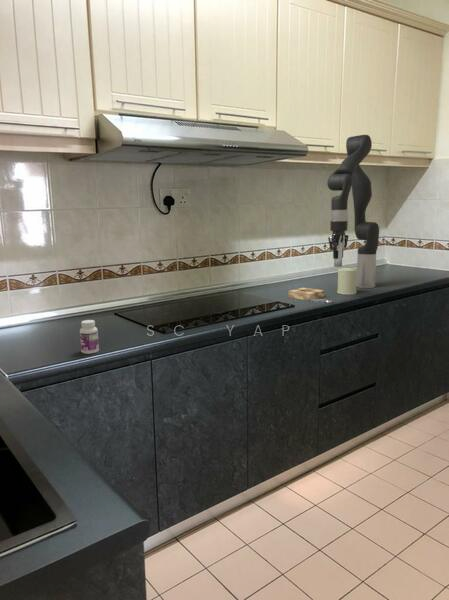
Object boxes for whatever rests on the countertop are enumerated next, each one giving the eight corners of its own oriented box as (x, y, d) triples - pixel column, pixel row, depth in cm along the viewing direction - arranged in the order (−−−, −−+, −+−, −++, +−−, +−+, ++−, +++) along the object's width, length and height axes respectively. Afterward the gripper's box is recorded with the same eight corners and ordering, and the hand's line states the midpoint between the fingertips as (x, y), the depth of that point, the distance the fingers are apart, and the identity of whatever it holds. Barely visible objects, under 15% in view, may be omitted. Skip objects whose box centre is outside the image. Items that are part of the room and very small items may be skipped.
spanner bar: (309, 300, 219) (309, 298, 219) (313, 299, 221) (313, 297, 221) (329, 303, 212) (329, 301, 212) (333, 302, 214) (333, 300, 214)
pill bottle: (77, 351, 150) (75, 321, 148) (92, 347, 154) (90, 318, 152) (87, 355, 146) (85, 324, 144) (102, 351, 150) (100, 320, 148)
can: (357, 294, 231) (358, 269, 228) (337, 294, 232) (338, 269, 230) (356, 291, 239) (356, 267, 237) (336, 290, 241) (337, 267, 239)
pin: (336, 265, 224) (337, 241, 221) (343, 266, 221) (344, 242, 219) (332, 266, 221) (332, 242, 219) (339, 267, 219) (339, 242, 216)
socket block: (303, 293, 236) (303, 287, 235) (324, 296, 228) (324, 290, 227) (288, 297, 227) (288, 290, 227) (309, 300, 219) (309, 294, 219)
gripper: (340, 219, 224) (339, 256, 228) (323, 220, 214) (322, 259, 218) (354, 219, 219) (353, 257, 223) (337, 221, 209) (336, 260, 213)
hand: (338, 258), depth 220 cm, fingers closed on pin, 3 cm apart
